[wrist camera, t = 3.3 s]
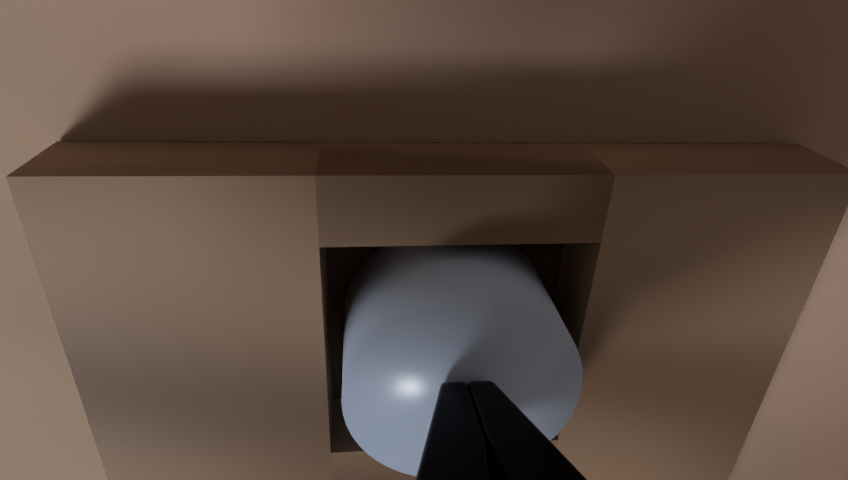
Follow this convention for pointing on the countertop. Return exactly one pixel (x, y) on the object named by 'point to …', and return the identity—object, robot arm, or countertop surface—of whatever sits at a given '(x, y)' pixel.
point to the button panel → (417, 226)
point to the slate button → (449, 343)
